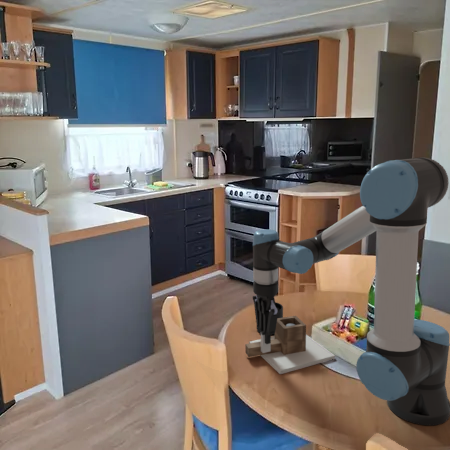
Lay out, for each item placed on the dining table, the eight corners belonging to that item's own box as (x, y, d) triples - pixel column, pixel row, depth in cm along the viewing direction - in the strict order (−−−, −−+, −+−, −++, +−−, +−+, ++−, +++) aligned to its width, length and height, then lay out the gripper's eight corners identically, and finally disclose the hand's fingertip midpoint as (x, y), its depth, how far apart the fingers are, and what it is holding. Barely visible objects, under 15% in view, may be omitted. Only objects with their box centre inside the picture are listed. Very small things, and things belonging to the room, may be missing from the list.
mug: (275, 320, 169) (275, 297, 166) (286, 334, 157) (286, 310, 155) (251, 322, 167) (251, 300, 165) (260, 337, 155) (260, 313, 153)
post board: (334, 358, 140) (335, 331, 138) (280, 374, 132) (280, 346, 130) (299, 332, 158) (299, 308, 156) (249, 345, 150) (249, 319, 148)
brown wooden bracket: (295, 340, 150) (295, 315, 148) (305, 351, 143) (306, 325, 141) (243, 349, 145) (242, 323, 143) (251, 360, 138) (250, 334, 136)
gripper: (287, 285, 131) (286, 358, 136) (265, 272, 142) (265, 339, 147) (265, 289, 128) (265, 363, 133) (244, 276, 139) (245, 344, 144)
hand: (265, 351), depth 140 cm, fingers closed
